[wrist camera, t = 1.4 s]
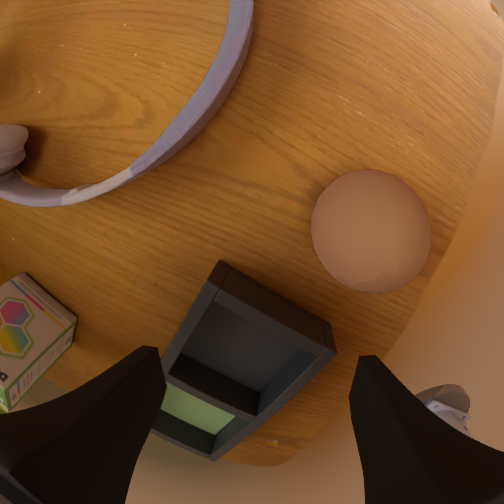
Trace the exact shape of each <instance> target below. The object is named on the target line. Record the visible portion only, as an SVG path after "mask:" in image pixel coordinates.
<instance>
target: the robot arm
mask: <svg viewBox="0 0 504 504" xmlns="http://www.w3.org/2000/svg"><path fill="white" fill-rule="evenodd" d="M166 389H167V384H166V380H165V376H164V372H163V368H162V364H161V360H160V356H159V352H158V348H157V347H151V346H144V345H143V346H141V347H140V348H138V349H136V350H135V351H133V352H132V353H131V354H129V355H128V356H126V357H125V358H123V359H122V360H121V361H119V362H118V363H116V364H115V365H113V366H112V367H110V368H109V369H107V370H106V371H105V372H103V373H102V374H100V375H98V376H97V377H95V378H93V379H92V380H90V381H88V382H87V383H85V384H84V385H82V386H80V387H78V388H77V389H75V390H73V391H71V392H69V393H67V394H65V395H62V396H61V397H58V398H56V399H54V400H51V401H48V402H45V403H43V404H40V405H37V406H35V407H31V408H27V409H24V410H20V411H15V412H10V413H5V414H0V504H125V500H126V496H127V492H128V488H129V485H130V481H131V477H132V474H133V471H134V467H135V465H136V461H137V459H138V456H139V454H140V451H141V449H142V447H143V445H144V443H145V441H146V438H147V436H148V435H149V432H150V430H151V428H152V426H153V424H154V422H155V420H156V418H157V415H158V413H159V411H160V409H161V406H162V403H163V400H164V396H165V393H166ZM349 401H350V411H351V420H352V424H353V429H354V433H355V437H356V442H357V446H358V451H359V455H360V460H361V464H362V470H363V476H364V489H365V504H504V452H502V451H499V450H496V449H494V448H492V447H489V446H487V445H485V444H482V443H480V442H478V441H476V440H474V439H473V437H472V435H471V433H470V431H469V429H468V427H467V425H466V423H465V422H466V421H467V420H468V419H469V418H470V414H468V413H465V412H463V411H461V410H458V409H456V408H454V407H451V406H449V405H447V404H444V403H442V402H440V401H438V400H433V401H431V402H430V403H429V404H428V405H427V406H425V405H424V404H423V403H422V402H421V401H420V400H419V399H417V398H416V397H415V396H414V395H413V394H412V393H411V392H410V391H409V390H408V389H407V388H406V387H405V386H404V385H403V384H402V383H401V382H400V381H399V380H398V379H397V378H396V377H395V375H394V374H392V372H391V371H390V370H389V369H388V368H387V367H386V366H385V365H384V364H383V363H382V361H381V360H380V359H379V358H378V357H377V356H376V355H367V356H359V359H358V363H357V367H356V371H355V375H354V379H353V383H352V386H351V390H350V394H349Z"/></svg>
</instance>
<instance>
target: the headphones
mask: <svg viewBox="0 0 504 504" xmlns="http://www.w3.org/2000/svg"><path fill="white" fill-rule="evenodd" d="M253 18H254V0H230V6H229V15H228V20H227V25H226V30H225V34H224V37H223V40H222V43H221V46H220V48H219V51H218V53H217V55H216V57H215V59H214V61H213V63H212V65H211V67H210V69H209V70H208V72H207V74H206V75H205V77H204V79H203V80H202V82H201V84H200V85H199V87H198V88H197V89H196V91H195V92H194V94H193V95H192V97H191V98H190V99H189V101H188V102H187V103H186V104H185V106H184V107H183V108H182V109H181V111H180V112H179V113H178V114H177V116H176V117H175V118H174V120H173V121H172V122H171V123H170V125H169V126H168V127H167V128H166V130H165V131H164V132H163V133H162V135H161V136H160V137H159V138H158V140H157V141H156V142H155V143H154V144H153V145H152V146H151V147H150V148H148V149H147V150H146V151H145V152H144V153H143V154H142V155H140V156H139V157H138V158H137V159H135V160H134V161H133V163H132V164H131V166H130V167H128V168H127V169H125V170H123V171H122V172H120V173H118V174H116V175H114V176H112V177H110V178H108V179H107V180H105V181H103V182H101V183H98V184H95V185H93V184H85V185H82V186H79V187H76V188H74V189H51V188H45V187H38V186H35V185H32V184H28V183H26V182H24V181H23V179H22V176H21V173H20V171H19V170H18V169H16V168H15V167H16V166H17V165H18V164H19V163H20V162H21V161H22V160H24V158H25V156H26V153H25V150H24V144H25V143H26V141H27V139H28V130H27V129H26V128H25V127H23V126H20V125H15V124H0V198H3V199H5V200H8V201H11V202H15V203H18V204H22V205H27V206H35V207H54V206H66V205H71V204H76V203H79V202H83V201H86V200H89V199H92V198H94V197H97V196H99V195H101V194H104V193H106V192H109V191H111V190H114V189H116V188H119V187H121V186H124V185H126V184H128V183H130V182H132V181H134V180H136V179H138V178H140V177H142V176H144V175H145V174H147V173H149V172H150V171H152V170H153V169H155V168H157V167H158V166H160V165H161V164H163V163H164V162H165V161H167V160H168V159H170V158H171V157H172V156H174V155H175V154H176V153H178V152H179V151H180V150H181V149H182V148H183V147H185V146H186V145H187V144H188V143H189V142H190V141H191V140H192V139H193V138H194V137H196V136H197V135H198V133H199V132H200V131H201V130H202V129H203V128H204V127H205V126H206V125H207V123H208V122H209V121H210V120H211V119H212V117H213V116H214V115H215V114H216V112H217V111H218V109H219V108H220V107H221V105H222V104H223V103H224V101H225V99H226V98H227V96H228V95H229V93H230V91H231V90H232V88H233V86H234V84H235V82H236V80H237V78H238V76H239V74H240V72H241V69H242V67H243V64H244V62H245V60H246V57H247V53H248V50H249V46H250V43H251V37H252V32H253Z"/></svg>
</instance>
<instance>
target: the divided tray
mask: <svg viewBox="0 0 504 504" xmlns="http://www.w3.org/2000/svg"><path fill="white" fill-rule="evenodd" d="M336 354H337V350H336V346H335V342H334V337H333V333H332V330H331V325H330V324H329V323H328V322H326V321H324V320H322V319H321V318H319V317H317V316H315V315H314V314H312V313H310V312H308V311H307V310H305V309H303V308H301V307H300V306H298V305H296V304H294V303H293V302H291V301H289V300H287V299H286V298H284V297H282V296H280V295H279V294H277V293H275V292H274V291H272V290H270V289H268V288H267V287H265V286H263V285H262V284H260V283H258V282H256V281H255V280H253V279H251V278H250V277H248V276H246V275H245V274H243V273H241V272H240V271H238V270H236V269H234V268H233V267H231V266H229V265H228V264H226V263H224V262H223V261H221V260H218V262H217V263H216V265H215V267H214V268H213V270H212V272H211V274H210V275H209V277H208V279H207V280H206V282H205V284H204V285H203V287H202V289H201V290H200V292H199V294H198V296H197V297H196V299H195V301H194V303H193V304H192V306H191V308H190V309H189V311H188V313H187V315H186V316H185V318H184V320H183V322H182V323H181V325H180V327H179V329H178V330H177V332H176V334H175V336H174V337H173V339H172V341H171V343H170V345H169V346H168V348H167V350H166V352H165V353H164V355H163V357H162V359H161V364H162V368H163V372H164V376H165V380H166V384H167V389H166V393H165V396H164V400H163V403H162V406H161V409H160V411H159V413H158V415H157V418H156V420H155V422H154V424H153V426H152V428H151V430H150V432H151V433H153V434H155V435H157V436H159V437H161V438H163V439H165V440H167V441H169V442H171V443H173V444H175V445H177V446H180V447H181V448H184V449H186V450H188V451H190V452H193V453H195V454H197V455H200V456H202V457H205V458H208V459H210V460H212V461H216V460H217V459H219V458H220V457H221V456H223V455H224V454H225V453H227V452H228V451H229V450H231V449H232V448H233V447H235V446H236V445H237V444H239V443H240V442H241V441H242V440H244V439H245V438H246V437H247V436H249V435H250V434H251V433H252V432H254V431H255V430H256V429H257V428H258V427H260V426H261V425H262V424H263V423H264V422H266V421H267V420H268V419H269V418H270V417H271V416H273V415H274V414H275V413H276V412H277V411H278V410H279V409H280V408H282V407H283V406H284V405H285V404H286V403H287V402H288V401H289V400H290V399H292V398H293V397H294V396H295V395H296V394H297V393H298V392H299V391H300V390H301V389H302V388H303V387H304V386H305V385H306V384H307V383H308V382H309V381H310V380H311V379H312V378H313V377H314V376H315V375H316V374H317V373H318V372H319V371H320V370H321V369H322V368H323V367H324V366H325V365H326V364H327V363H328V362H329V361H330V360H331V359H332V358H333V357H334V356H335V355H336Z"/></svg>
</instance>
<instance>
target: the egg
mask: <svg viewBox="0 0 504 504" xmlns="http://www.w3.org/2000/svg"><path fill="white" fill-rule="evenodd" d="M311 235H312V241H313V246H314V248H315V251H316V253H317V256H318V258H319V259H320V261H321V263H322V264H323V266H324V268H325V269H326V270H327V271H328V272H329V273H330V274H331V275H332V276H333V277H334V278H335V279H336V280H337V281H339V282H340V283H341V284H343V285H344V286H346V287H349V288H351V289H353V290H356V291H360V292H365V293H377V294H381V293H387V292H392V291H394V290H397V289H399V288H401V287H403V286H405V285H407V284H408V283H409V282H410V281H412V280H413V279H414V278H415V277H416V276H417V275H418V274H419V272H420V271H421V270H422V268H423V267H424V265H425V262H426V260H427V258H428V255H429V250H430V246H431V226H430V222H429V218H428V214H427V212H426V209H425V207H424V204H423V202H422V200H421V199H420V197H419V196H418V195H417V194H416V192H415V191H414V190H413V189H412V188H411V187H410V186H409V185H408V184H407V183H405V182H404V181H403V180H401V179H399V178H398V177H396V176H394V175H392V174H389V173H386V172H383V171H379V170H372V169H365V170H356V171H352V172H349V173H346V174H344V175H342V176H340V177H339V178H337V179H335V180H333V181H332V182H331V183H330V184H329V186H328V187H327V188H326V189H325V190H324V191H323V192H322V193H321V195H320V196H319V198H318V200H317V203H316V205H315V208H314V210H313V214H312V221H311Z"/></svg>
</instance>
